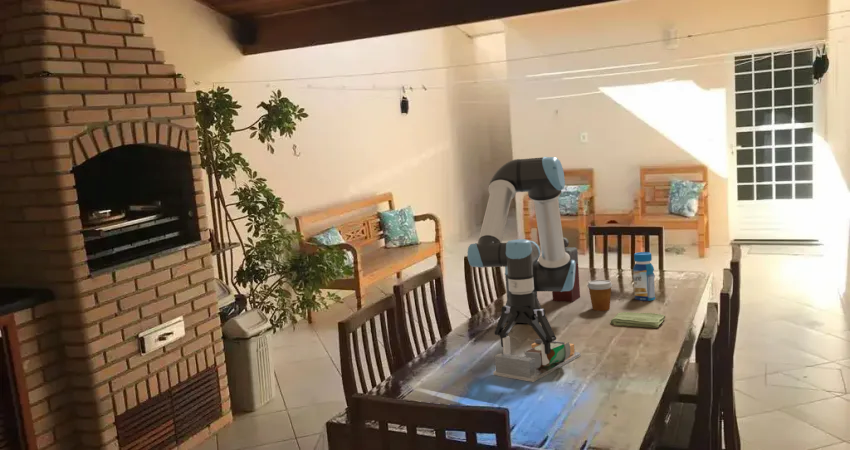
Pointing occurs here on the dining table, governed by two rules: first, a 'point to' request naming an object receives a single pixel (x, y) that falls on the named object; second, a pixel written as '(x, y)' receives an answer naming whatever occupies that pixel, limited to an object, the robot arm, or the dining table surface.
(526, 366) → the vise
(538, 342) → the block
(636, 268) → the beverage bottle
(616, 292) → the dining table surface
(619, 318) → the washcloth
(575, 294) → the toy vending machine
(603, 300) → the disposable coffee cup
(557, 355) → the food container
